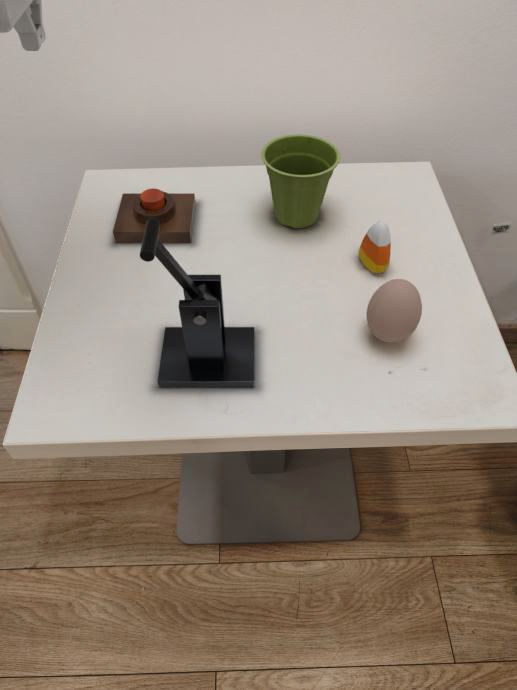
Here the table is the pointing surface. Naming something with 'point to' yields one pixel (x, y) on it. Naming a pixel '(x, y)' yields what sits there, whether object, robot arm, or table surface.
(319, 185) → the plant pot
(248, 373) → the bracket
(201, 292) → the lever
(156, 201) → the button
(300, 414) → the table surface
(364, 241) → the candy corn
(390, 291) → the egg
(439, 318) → the table surface
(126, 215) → the button block
